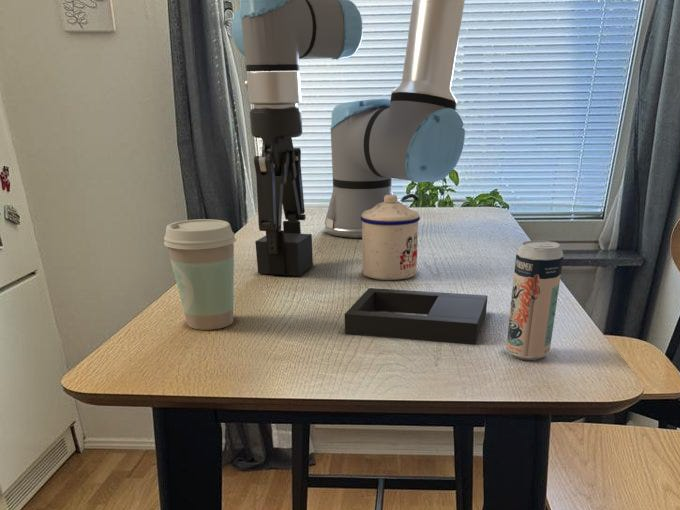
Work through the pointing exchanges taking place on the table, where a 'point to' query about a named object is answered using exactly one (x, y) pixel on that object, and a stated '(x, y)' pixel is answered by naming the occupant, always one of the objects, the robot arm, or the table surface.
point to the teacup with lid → (389, 240)
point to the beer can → (534, 299)
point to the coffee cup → (203, 270)
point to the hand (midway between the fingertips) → (286, 267)
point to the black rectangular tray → (439, 325)
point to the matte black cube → (288, 254)
